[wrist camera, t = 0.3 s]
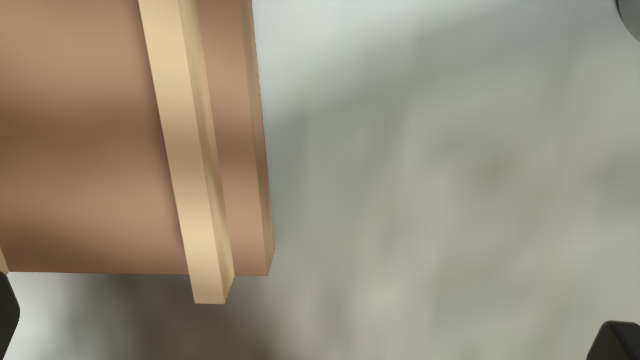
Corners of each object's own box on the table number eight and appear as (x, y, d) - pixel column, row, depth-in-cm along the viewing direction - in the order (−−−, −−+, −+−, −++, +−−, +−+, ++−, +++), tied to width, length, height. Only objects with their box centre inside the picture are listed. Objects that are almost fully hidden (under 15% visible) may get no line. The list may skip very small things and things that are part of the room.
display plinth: (274, 248, 25) (260, 304, 21) (-19, 244, 26) (-76, 297, 23) (248, -37, 19) (222, -22, 16) (-124, -24, 20) (-221, -7, 17)
